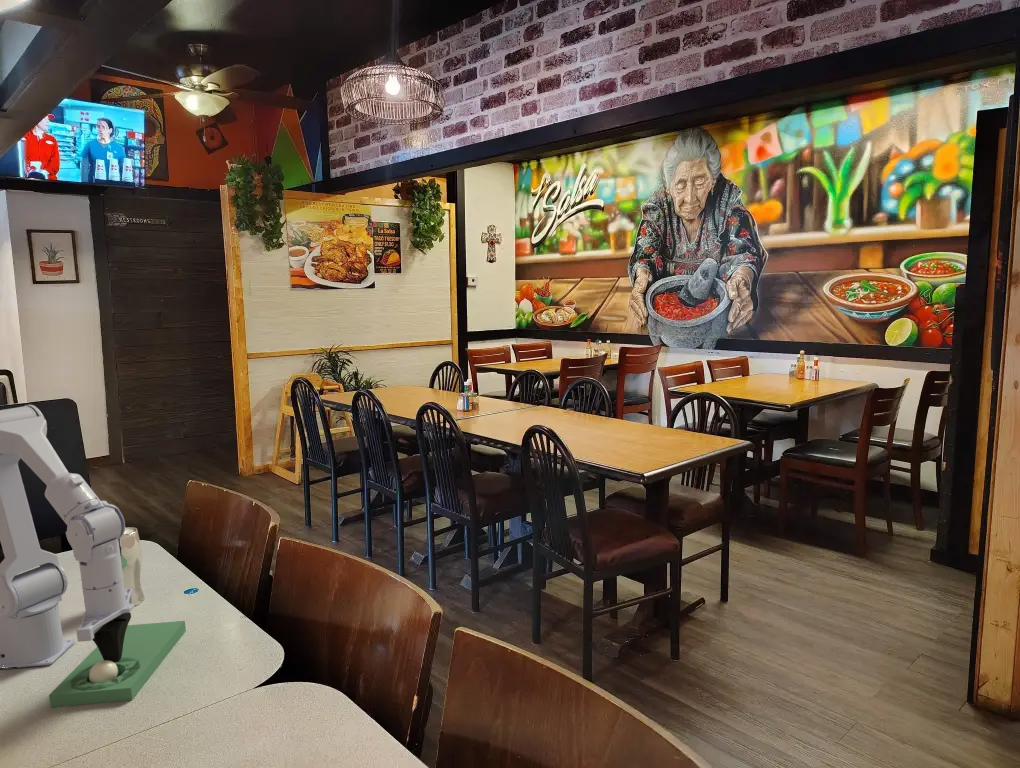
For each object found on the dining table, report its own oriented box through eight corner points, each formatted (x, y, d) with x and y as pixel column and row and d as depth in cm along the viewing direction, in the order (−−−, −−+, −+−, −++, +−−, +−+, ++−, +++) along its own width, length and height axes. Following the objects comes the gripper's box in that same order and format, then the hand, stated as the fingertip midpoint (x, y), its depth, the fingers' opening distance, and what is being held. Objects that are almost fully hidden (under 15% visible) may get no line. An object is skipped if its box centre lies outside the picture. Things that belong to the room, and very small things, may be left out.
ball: (81, 671, 108) (92, 661, 112) (89, 695, 108) (99, 685, 112) (107, 661, 109) (117, 652, 112) (115, 685, 109) (125, 675, 113)
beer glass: (130, 611, 137) (121, 539, 135) (100, 609, 138) (90, 538, 136) (154, 595, 144) (146, 527, 142) (125, 594, 145) (117, 526, 143)
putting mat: (50, 707, 105) (48, 695, 105) (118, 636, 127) (117, 626, 126) (132, 699, 106) (130, 687, 106) (185, 630, 128) (184, 620, 127)
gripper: (106, 599, 104) (117, 683, 106) (148, 562, 118) (157, 637, 120) (57, 603, 103) (69, 687, 105) (105, 566, 117) (115, 640, 119)
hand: (113, 661), depth 112 cm, fingers closed
